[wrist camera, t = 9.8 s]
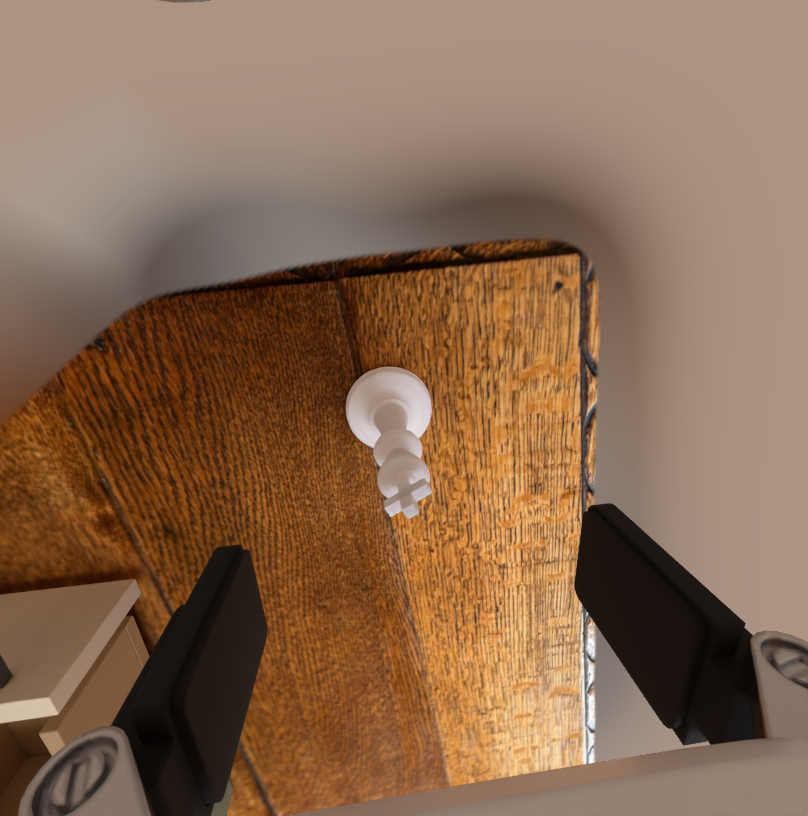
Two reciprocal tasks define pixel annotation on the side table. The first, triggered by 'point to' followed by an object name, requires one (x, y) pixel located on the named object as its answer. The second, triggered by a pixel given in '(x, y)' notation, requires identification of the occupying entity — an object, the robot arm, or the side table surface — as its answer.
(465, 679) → the side table surface
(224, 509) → the side table surface
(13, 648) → the drawer
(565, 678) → the side table surface
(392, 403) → the chess piece
